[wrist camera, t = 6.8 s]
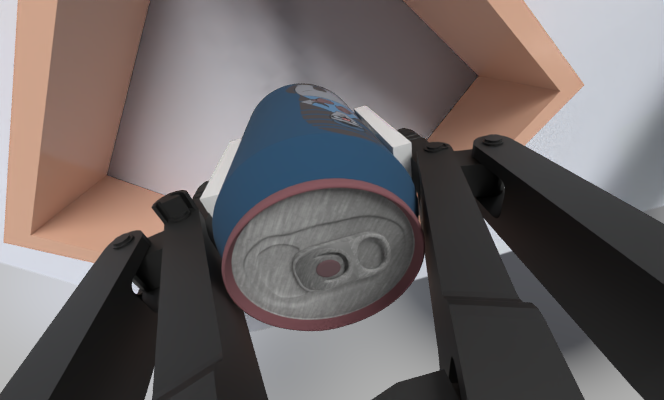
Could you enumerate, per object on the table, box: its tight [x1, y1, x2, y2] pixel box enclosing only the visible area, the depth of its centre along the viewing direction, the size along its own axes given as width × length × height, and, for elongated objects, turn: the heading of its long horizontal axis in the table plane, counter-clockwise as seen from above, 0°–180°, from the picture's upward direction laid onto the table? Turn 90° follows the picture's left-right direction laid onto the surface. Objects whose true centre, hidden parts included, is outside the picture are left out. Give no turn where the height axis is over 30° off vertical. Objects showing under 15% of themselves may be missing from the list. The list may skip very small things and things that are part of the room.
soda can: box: [212, 84, 425, 331], centre depth 12 cm, size 7×7×12 cm
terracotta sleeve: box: [4, 0, 584, 263], centre depth 16 cm, size 23×23×7 cm
